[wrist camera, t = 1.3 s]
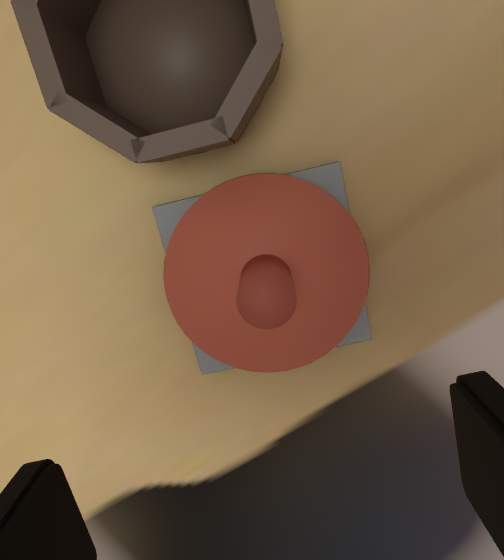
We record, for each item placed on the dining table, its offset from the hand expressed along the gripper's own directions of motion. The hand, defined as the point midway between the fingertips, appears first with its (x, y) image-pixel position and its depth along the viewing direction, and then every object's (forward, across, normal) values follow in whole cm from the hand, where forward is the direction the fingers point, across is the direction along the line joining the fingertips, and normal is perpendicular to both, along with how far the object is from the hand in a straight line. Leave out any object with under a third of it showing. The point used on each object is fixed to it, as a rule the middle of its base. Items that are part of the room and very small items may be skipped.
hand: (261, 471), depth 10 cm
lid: (+17, 0, 0) cm, 17 cm away
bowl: (+17, +2, -13) cm, 22 cm away
